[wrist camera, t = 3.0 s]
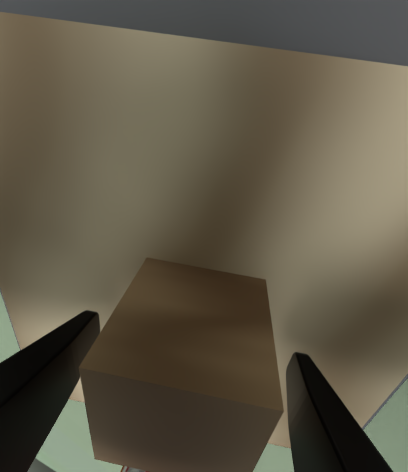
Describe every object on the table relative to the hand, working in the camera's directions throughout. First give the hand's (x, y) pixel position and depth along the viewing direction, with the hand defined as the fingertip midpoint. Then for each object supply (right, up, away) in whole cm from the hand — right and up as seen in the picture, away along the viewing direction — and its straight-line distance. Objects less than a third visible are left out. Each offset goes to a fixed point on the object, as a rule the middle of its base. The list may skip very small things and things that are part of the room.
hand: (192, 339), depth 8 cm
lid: (0, +1, +2) cm, 2 cm away
